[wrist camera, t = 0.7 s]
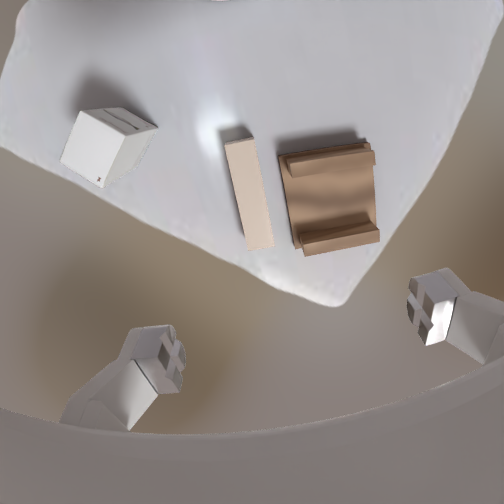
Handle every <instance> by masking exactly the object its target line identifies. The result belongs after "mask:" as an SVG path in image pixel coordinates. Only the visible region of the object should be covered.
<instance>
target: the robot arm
mask: <svg viewBox="0 0 504 504" xmlns="http://www.w3.org/2000/svg"><path fill="white" fill-rule="evenodd" d="M213 1H226V0H213ZM409 290H410V291H411V295H410V296H409V297H408V299H407V311H408V316H409V319H410V321H411V323H412V324H413V325H415V326H417V327H419V329H418V334H419V336H420V338H421V339H422V341H423V343H424V344H425V346H427V345H430V344H433V343H436V342H440V341H443V340H446V341H447V342H449V343H451V344H452V345H454V346H456V347H457V348H458V349H460V350H461V351H463V352H465V353H466V354H468V355H469V356H471V357H473V358H474V359H475V360H477V361H479V362H480V363H482V364H483V366H482V367H481V368H479V369H477V370H475V371H473V372H470V373H468V374H466V375H464V376H461V377H459V378H457V379H455V380H452V381H450V382H448V383H445V384H443V385H440V386H438V387H435V388H433V389H430V390H427V391H425V392H423V393H419V394H417V395H414V396H411V397H408V398H405V399H402V400H399V401H396V402H393V403H390V404H387V405H383V406H379V407H376V408H373V409H369V410H365V411H361V412H358V413H354V414H350V415H345V416H341V417H337V418H332V419H327V420H322V421H317V422H313V423H307V424H301V425H295V426H288V427H281V428H274V429H266V430H257V431H247V432H235V433H219V434H192V435H191V434H190V435H189V434H185V435H182V434H180V435H179V434H176V435H175V434H174V435H173V434H145V433H132V432H130V431H129V430H130V429H131V428H132V427H133V425H134V424H135V423H136V422H137V420H138V419H139V418H140V417H141V416H142V414H143V413H144V412H145V411H146V409H147V408H148V407H149V406H150V404H151V403H152V402H153V401H154V399H155V398H156V397H157V396H158V394H166V393H179V392H180V389H181V384H182V378H183V377H182V376H181V374H180V372H181V371H182V370H183V369H184V368H185V363H186V358H185V357H186V356H185V351H184V347H183V345H182V343H181V342H180V341H178V340H176V339H175V337H176V331H175V330H174V328H173V326H171V325H161V326H152V327H141V328H133V329H131V330H130V331H129V334H128V336H127V338H126V340H125V343H124V345H123V347H122V350H121V352H120V354H119V357H118V359H117V360H114V361H112V362H111V363H110V364H109V365H108V366H106V367H105V368H104V369H103V370H102V371H100V372H99V373H98V374H97V375H96V376H94V377H93V378H92V379H91V380H90V381H88V382H87V383H86V384H85V385H84V386H82V387H81V388H80V389H79V390H78V391H77V392H75V393H74V394H73V395H72V396H71V397H70V398H69V400H68V402H67V404H66V407H65V409H64V411H63V414H62V416H61V418H60V421H59V423H57V422H52V421H48V420H43V419H39V418H35V417H30V416H27V415H23V414H19V413H15V412H11V411H9V410H6V409H3V408H0V504H504V302H502V301H500V300H497V299H494V298H492V297H489V296H486V295H484V294H481V293H478V292H476V291H474V292H471V291H470V290H469V289H468V288H467V287H466V286H465V284H464V283H463V282H462V281H461V280H460V279H459V278H458V277H457V276H456V275H455V274H454V273H453V272H452V271H451V270H450V269H449V268H443V269H440V270H437V271H435V272H432V273H429V274H424V275H421V276H417V277H413V278H411V279H410V281H409Z"/></svg>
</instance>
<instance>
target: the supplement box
mask: <svg viewBox="0 0 504 504" xmlns="http://www.w3.org/2000/svg"><path fill="white" fill-rule="evenodd" d="M157 130H158V127H156V126H154V125H152V124H150V123H148V122H146V121H144V120H143V119H141V118H139V117H137V116H136V115H134V114H132V113H130V112H129V111H127V110H125V109H124V108H122V107H119V108H102V109H91V110H81V111H80V112H79V114H78V117H77V119H76V121H75V123H74V126H73V128H72V131H71V133H70V135H69V138H68V140H67V143H66V145H65V147H64V150H63V152H62V155H61V157H60V160H59V162H60V163H61V164H62V165H64V166H66V167H67V168H69V169H70V170H72V171H74V172H75V173H77V174H78V175H80V176H81V177H83V178H85V179H86V180H88V181H90V182H91V183H93V184H94V185H96V186H98V187H99V188H101V189H103V188H105V187H106V186H108V185H109V184H111V183H112V182H114V181H115V180H117V179H119V178H120V177H122V176H124V175H125V174H127V173H129V172H130V171H132V170H134V169H135V168H137V167H138V165H139V163H140V161H141V159H142V157H143V155H144V153H145V152H146V150H147V148H148V146H149V144H150V142H151V141H152V139H153V137H154V135H155V134H156V132H157Z"/></svg>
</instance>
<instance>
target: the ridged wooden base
mask: <svg viewBox="0 0 504 504" xmlns="http://www.w3.org/2000/svg"><path fill="white" fill-rule="evenodd" d="M278 158H279V163H280V169H281V174H282V179H283V184H284V190H285V195H286V201H287V206H288V212H289V217H290V223H291V229H292V235H293V241H294V246H295V249H299V248H302V249H303V252H304V255H305V257H306V256H311V255H316V254H321V253H326V252H331V251H336V250H341V249H346V248H351V247H356V246H361V245H365V244H370V243H375V242H380V232H379V229H378V228H377V227H376V206H375V190H374V176H373V165H376V163H375V153H374V151H373V150H371V146H370V143H368V142H364V143H356V144H348V145H341V146H333V147H327V148H320V149H314V150H307V151H301V152H296V153H290V154H284V155H279V156H278Z"/></svg>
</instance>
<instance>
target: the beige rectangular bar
mask: <svg viewBox="0 0 504 504" xmlns="http://www.w3.org/2000/svg"><path fill="white" fill-rule="evenodd" d="M224 146H225V151H226V155H227V160H228V164H229V168H230V173H231V177H232V182H233V186H234V190H235V195H236V199H237V203H238V208H239V212H240V217H241V221H242V225H243V230H244V234H245V238H246V243H247V247H248V251H251V250H257V249H262V248H268V247H273V246H275V245H274V239H273V234H272V228H271V223H270V217H269V212H268V207H267V202H266V197H265V191H264V186H263V181H262V176H261V171H260V166H259V161H258V156H257V151H256V146H255V141H254V137H250V138H245V139H240V140H235V141H230V142H226V144H225V145H224Z"/></svg>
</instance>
